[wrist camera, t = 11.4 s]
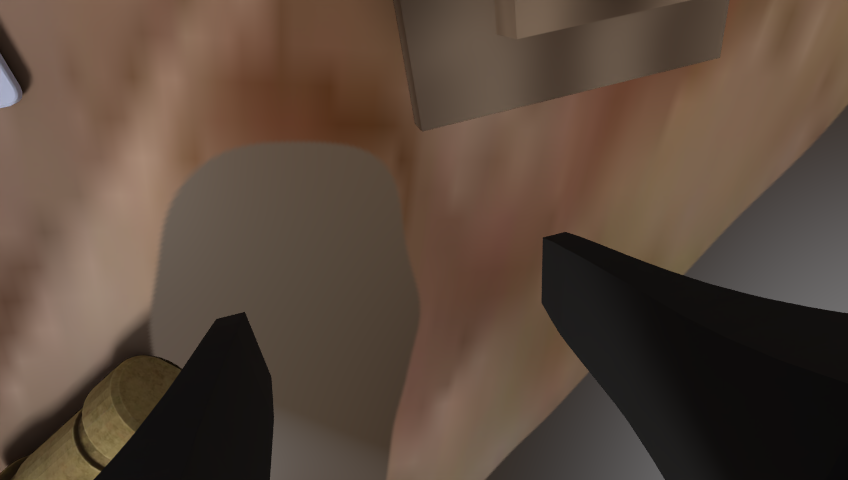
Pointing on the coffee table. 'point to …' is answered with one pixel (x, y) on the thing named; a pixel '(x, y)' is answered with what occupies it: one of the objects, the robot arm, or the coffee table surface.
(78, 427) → the gavel
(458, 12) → the board
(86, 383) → the coffee table surface
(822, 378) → the robot arm
